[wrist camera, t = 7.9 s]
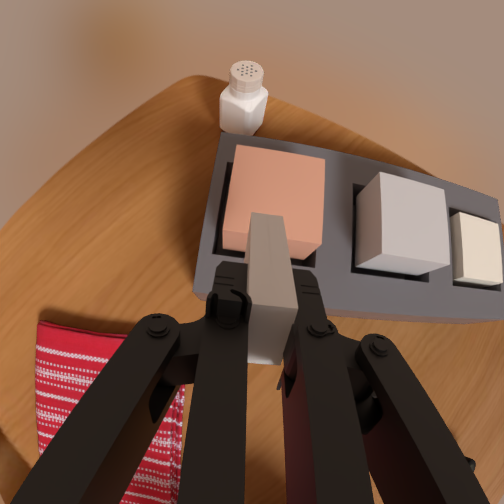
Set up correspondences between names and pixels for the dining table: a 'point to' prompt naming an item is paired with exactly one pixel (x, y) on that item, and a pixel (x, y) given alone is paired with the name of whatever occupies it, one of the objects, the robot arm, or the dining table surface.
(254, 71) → the salt shaker
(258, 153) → the key terracotta
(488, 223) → the key cream
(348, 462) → the robot arm
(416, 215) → the key grey
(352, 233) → the three-slot sorting tray
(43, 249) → the dining table surface
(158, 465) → the dish towel
